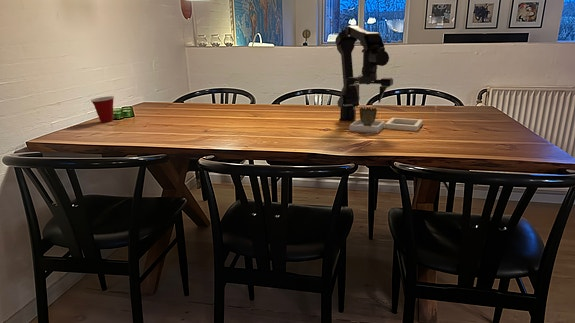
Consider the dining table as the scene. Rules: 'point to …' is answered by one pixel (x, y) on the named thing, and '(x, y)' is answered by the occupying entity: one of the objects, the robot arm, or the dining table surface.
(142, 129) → the dining table surface
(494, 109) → the dining table surface
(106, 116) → the plastic cup
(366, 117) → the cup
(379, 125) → the grey tray
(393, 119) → the white flat square frame
